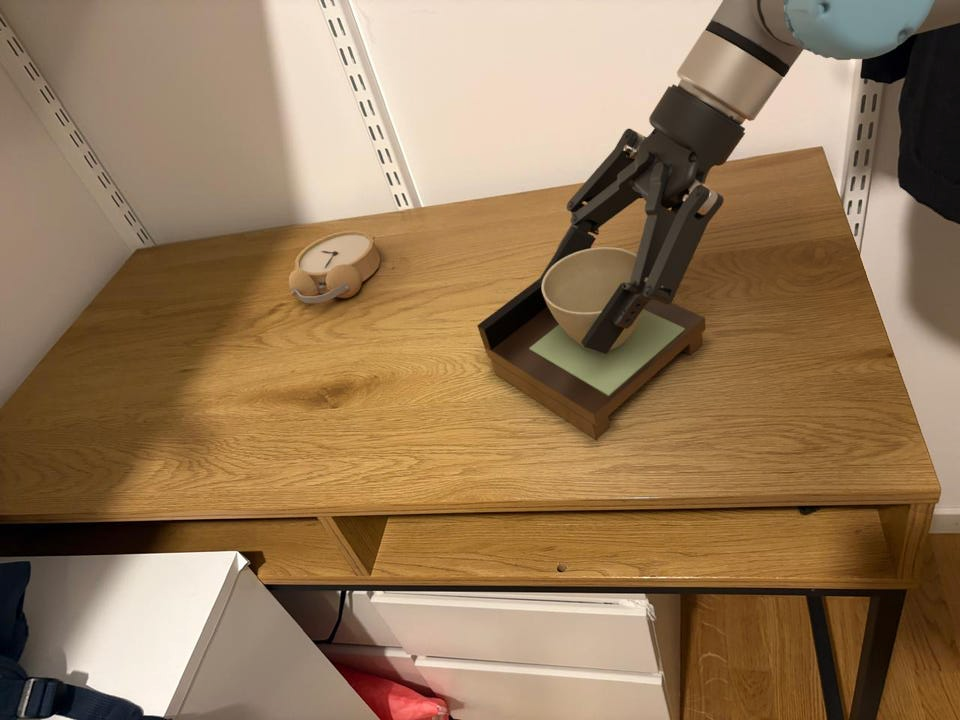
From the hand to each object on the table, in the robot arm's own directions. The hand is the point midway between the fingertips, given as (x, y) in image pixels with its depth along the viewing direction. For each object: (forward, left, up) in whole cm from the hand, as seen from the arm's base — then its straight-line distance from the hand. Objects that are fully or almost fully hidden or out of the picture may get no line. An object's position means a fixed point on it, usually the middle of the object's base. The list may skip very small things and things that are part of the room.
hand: (570, 315), depth 71 cm
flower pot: (-1, -3, -4) cm, 5 cm away
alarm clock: (+41, +6, -9) cm, 42 cm away
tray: (+1, -3, -9) cm, 9 cm away
